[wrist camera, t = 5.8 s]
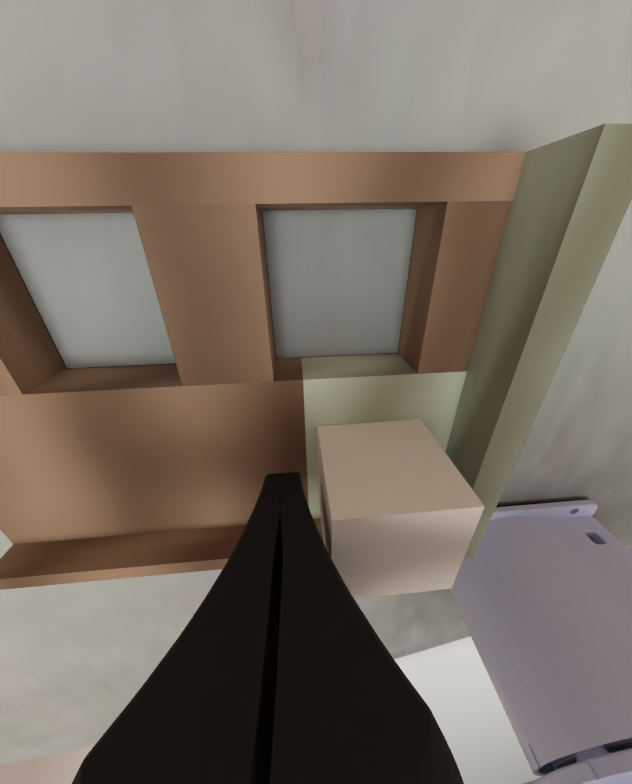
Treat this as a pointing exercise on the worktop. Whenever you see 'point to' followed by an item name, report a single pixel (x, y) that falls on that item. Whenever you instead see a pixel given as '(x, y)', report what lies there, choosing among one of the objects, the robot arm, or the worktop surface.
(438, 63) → the worktop surface
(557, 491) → the worktop surface
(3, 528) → the trap deck
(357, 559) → the cream block
